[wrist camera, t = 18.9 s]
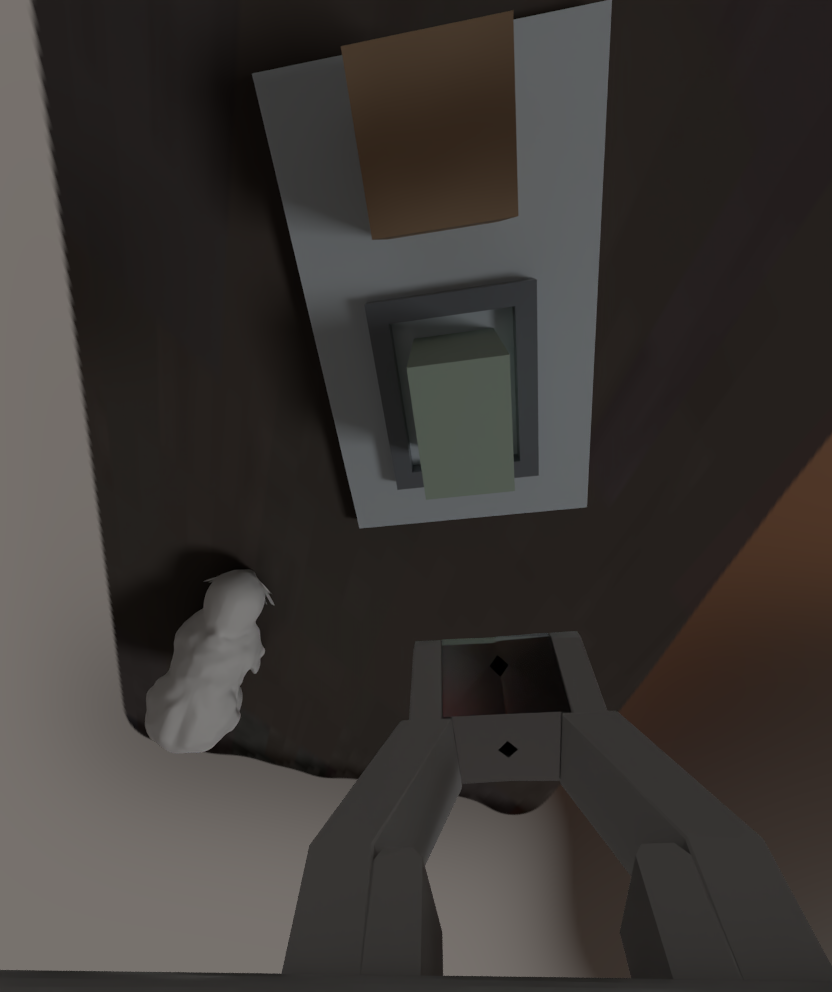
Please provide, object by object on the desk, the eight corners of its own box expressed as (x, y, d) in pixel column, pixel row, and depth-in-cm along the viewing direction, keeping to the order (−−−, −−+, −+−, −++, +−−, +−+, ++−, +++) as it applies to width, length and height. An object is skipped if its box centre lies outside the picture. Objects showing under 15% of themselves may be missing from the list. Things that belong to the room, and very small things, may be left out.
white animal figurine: (115, 752, 29) (150, 613, 24) (180, 654, 37) (215, 534, 32) (214, 779, 30) (265, 650, 25) (256, 678, 38) (301, 565, 33)
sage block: (413, 338, 23) (406, 368, 18) (493, 327, 23) (509, 354, 18) (428, 447, 26) (425, 499, 21) (499, 439, 26) (514, 491, 20)
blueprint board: (260, 81, 19) (177, 7, 13) (603, 11, 18) (689, -108, 12) (361, 519, 30) (342, 592, 24) (582, 498, 28) (621, 570, 22)
